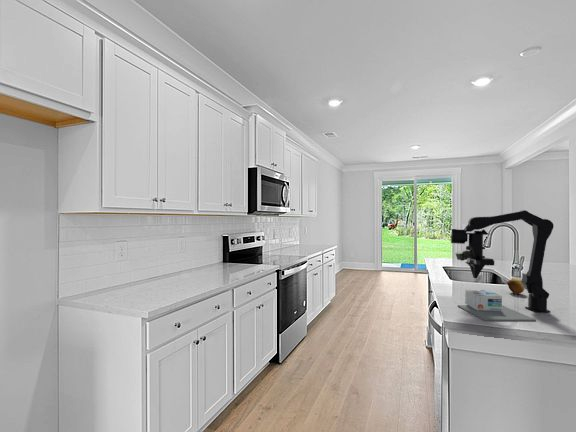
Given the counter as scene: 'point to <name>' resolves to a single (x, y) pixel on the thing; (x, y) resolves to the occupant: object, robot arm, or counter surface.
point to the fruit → (515, 286)
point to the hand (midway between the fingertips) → (475, 278)
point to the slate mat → (497, 314)
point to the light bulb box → (483, 300)
